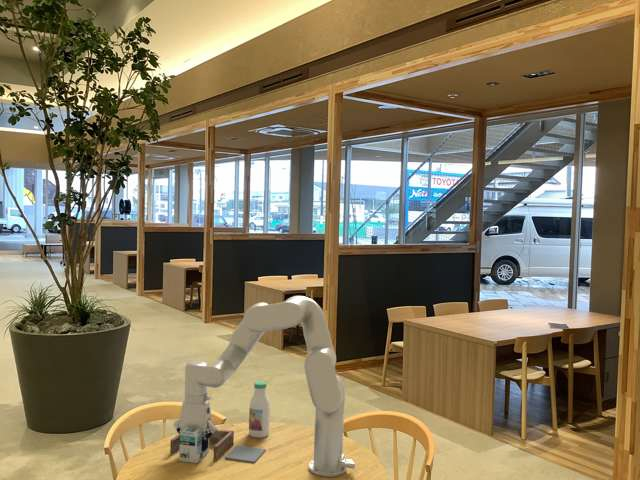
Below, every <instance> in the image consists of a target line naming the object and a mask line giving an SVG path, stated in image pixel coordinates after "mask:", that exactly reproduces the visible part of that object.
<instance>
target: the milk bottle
mask: <svg viewBox="0 0 640 480" xmlns="http://www.w3.org/2000/svg"><path fill="white" fill-rule="evenodd" d="M253 387H254V388H253V389H254V392H253V394H252V397H251V399H250V401H249V413H248V414H249V415H248V435H249V436H250V437H253V438H258V439H259V438H260V439H261V438H265V437H268V436H269V434H270V418H271V417H270V416H271V415H270V413H271V407H270V405H271V404H270V399H269V397H268V395H267V392H266V391H267V383H266V381H262V380H261V381H260V380H259V381H255V382H254V385H253Z"/></svg>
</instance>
